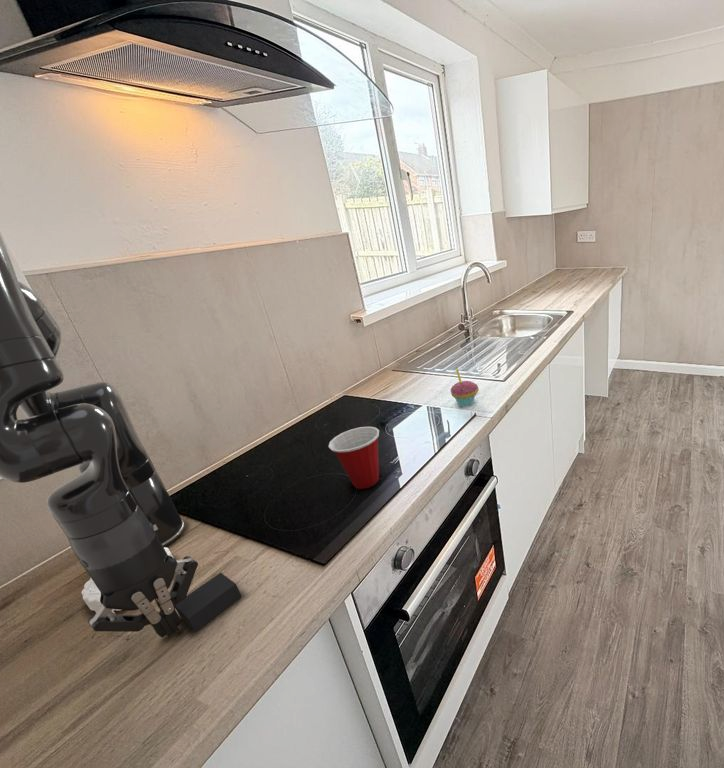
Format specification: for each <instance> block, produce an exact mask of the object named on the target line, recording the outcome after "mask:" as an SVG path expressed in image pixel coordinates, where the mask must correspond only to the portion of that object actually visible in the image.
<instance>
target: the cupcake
mask: <svg viewBox="0 0 724 768" xmlns="http://www.w3.org/2000/svg"><path fill="white" fill-rule="evenodd" d="M455 372H456V375H457V379H458V382H456V383H454V384H453V385H452V386H451V388H450V392H451V393H450V394H451V397H452V398H454V399H455V401H456V402H457V404H458V406H459V407H470V406H472V405H473V404H474V402H475V397H476V395H477V394H478V393H479V391H480V388H479V385H478V384H477V383H475V382H473V381H471V380H462V378H461V373H460V371H459V368H458V367H457V366H455Z"/></svg>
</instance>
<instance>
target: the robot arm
mask: <svg viewBox="0 0 724 768" xmlns="http://www.w3.org/2000/svg"><path fill="white" fill-rule="evenodd" d="M15 271H16V270H15V268H14V265H13V264H12V259H11V257H10V255H9V252H8V249H7V246H6V244H5V241H4V239H3V236H2V233H1V232H0V478H1V479H4V480H6V481H8V482H13V483H17V484H18V483H20V484H22V483H30V482H34V481H37V480H40V479H42V478H46V477H48V476H51V475H54V474H56V473H59V472H61V471H65V470H67V469H71V468H73V467H76V466H77V468H78V472H79V474H78V475H76V476H75V477H74V478H72V479H70V480H68V481H66V482H65V483H63V484H62V485H60V486H58V487H57V488H56V489H54V490H53V491H52V492H51V493H50V494H49V496H48V497H47V500H46V506H47V508H48V511H49V513H50V514H51V516H52V518H53V519H54V520H55V521H56V522H57V525H59V527H60V528H61V530H62V531H63V533H64V534H65V536H66V538H67V540H68V542H69V544H70V547H71V549H72V552H73V554H74V555H75V556H76V558H77V560H78V561H79V564H80V565H81V566H82V567H83V568H84V570H85V571H86V573H87V574H88V576H89V578H91V579H92V580H93V582H94V583H95V585H96V586H97V588H98V589H99V591H100V592H101V597H100V602H101V604H102V606H101V607H100V609H99V610H98V612H97V613H96V612H95V613H93V614H92V615H90V616H89V617H88V618H87V623H88V625H89V626H90V628H91V629H92V630H93V631H94V632H116V633H117V632H119V633H120V632H125V633H127V632H131V633H135V632H137V633H138V632H140V631H142V630H143V629H144V628H145V627H147V626H151V628H152V629H153V630H154V632H155V633H156V634H157V635H158V636H159V637H160V638H163V639H164V637H167V638H170V637H172V636H174V635H175V634H176V633H178V631H180V626H181V625H182V618H181V617H180V615H179V614H178V612H177V610H176V609H175V607H176V605H177V604H178V603H179V602H182V601H183V600H185V598H186V596H187V595H188V592H189V590H190V588H191V585H192V582H193V580H194V576H195V574H196V571H197V569H198V566H199V563H198V562H197V561H196V560H195V559H194V558H193V557H191V556H190V555H186V556H184V557H183V558H182V559H176V558H174V556H173V557H171V556H169V555H167V553H166V551H165V549H164V547H166V546H168V545H170V544H172V543H174V541H175V540H177V539H178V538H179V537H180V536H181V535H182V534H183V532H184V531H185V529H186V524H185V522H184V520H183V519H182V517H181V516H180V513H179V512H178V509H177V507H176V505H175V503H174V501H173V499H172V498H171V496H170V494H169V492H168V490H167V488H166V486H165V484H164V482H163V481H162V478H161V476H160V475H159V472H158V471H157V469H156V467H155V465H154V463H153V461H152V459H151V457H150V456H149V454H148V452H147V450H146V448H145V445H144V444H143V442H142V440H141V438H140V436H139V434H138V432H137V429H136V428H135V426H134V424H133V421H132V419H131V416H130V414H129V411H128V410H127V407H126V405H125V403H124V400H123V399H122V396H121V395H120V393H119V392H118V389H116V388H115V386H114V385H112V384H111V383H110V382H107V381H97V382H94V383H89V384H84V385H80V386H76V387H72V388H67V389H64V390H59V391H54V392H49V390H51V389H55V388H56V387H58V386H60V385H61V384H62V383H63V382H64V380H65V375H64V372H63V370H62V368H61V366H60V364H59V362H58V360H57V356H58V353H59V350H60V348H61V343H62V332H61V331H62V330H61V329H60V326H59V324H58V323H57V321H56V320H55V318H54V317H53V316H52V314H51V313H50V311H49V310H48V308H47V307H46V306H45V304H44V303H43V301H42V299H41V298H40V297H39V296H38V294H37V293H35V291H33V290H32V289H31V288H30V287H28V285H26V284H24V283H23V282H21V281H19V280H18V277H17V275H16V272H15ZM18 409H20V410H21V411H22V412H23V414H24V415H25V416H26V418H23V419H18V416H17V412H18ZM175 573H176V575H175ZM174 576H175V577H174ZM173 579H174V580H173ZM172 582H173V583H172ZM171 584H172V586H171ZM170 587H171V588H170ZM169 589H170V590H169ZM153 601H154V602H155V604H156V606H157V607H158V609H159V611H157V609H156V608H155V607H154V606H153V604H152V602H153ZM112 609H120V611H137V610H139V612H140V613H141V614H117V613H116V612H115V611H113V610H112Z"/></svg>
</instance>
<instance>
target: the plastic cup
mask: <svg viewBox="0 0 724 768" xmlns="http://www.w3.org/2000/svg"><path fill="white" fill-rule="evenodd" d="M379 436H380V430H379V429H378V428H377V427H376V426H375V427H374V426H360V427H356V428H352V429H349V430H346V431H344V432H341V433H339V434H338V435H336V436H334V437H333V438H332V439H331V440H330V441H329V443H328V448H329V449H330V450H331V452H333V453H334V455H335V456H336V458H338V460H339V462H340V464H341V466H342V468H343V470H344V472H345V474H346V475H347V476H348V478H349V480H350V482H351V484H352V486H354V488H355V489H359V490H364V489H369V488H371V487H374V486H375V485H376V484H378V481H380V470H379V469H380V462H379V461H380V460H379Z"/></svg>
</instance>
